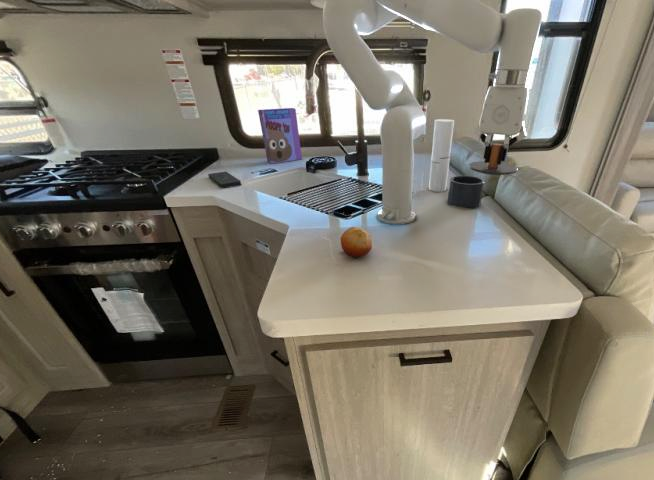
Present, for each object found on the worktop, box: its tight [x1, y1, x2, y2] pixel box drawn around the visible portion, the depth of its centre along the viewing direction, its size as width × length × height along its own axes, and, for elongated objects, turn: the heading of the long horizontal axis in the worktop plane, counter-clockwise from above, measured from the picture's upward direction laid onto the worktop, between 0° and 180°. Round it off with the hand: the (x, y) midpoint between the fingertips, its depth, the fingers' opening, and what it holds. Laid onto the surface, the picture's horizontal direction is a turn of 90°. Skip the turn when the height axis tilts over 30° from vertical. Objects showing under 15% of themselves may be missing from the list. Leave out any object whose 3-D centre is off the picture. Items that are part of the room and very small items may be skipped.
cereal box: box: [257, 107, 303, 165], centre depth 166 cm, size 17×5×24 cm, turn 130°
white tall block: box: [428, 118, 455, 193], centre depth 126 cm, size 7×7×25 cm
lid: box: [468, 142, 518, 176], centre depth 86 cm, size 13×13×7 cm
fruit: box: [340, 226, 373, 259], centre depth 83 cm, size 8×8×8 cm
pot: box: [447, 175, 485, 210], centre depth 117 cm, size 12×12×8 cm
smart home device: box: [207, 171, 242, 189], centre depth 139 cm, size 8×2×20 cm
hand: (493, 162), depth 86 cm, fingers closed on lid, 2 cm apart
